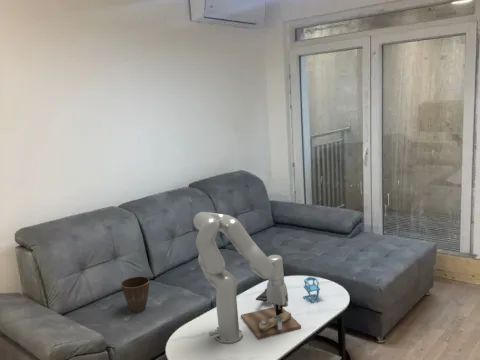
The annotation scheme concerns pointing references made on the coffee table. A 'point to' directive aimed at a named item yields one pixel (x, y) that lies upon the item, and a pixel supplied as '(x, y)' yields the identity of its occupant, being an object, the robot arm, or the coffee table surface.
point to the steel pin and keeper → (278, 322)
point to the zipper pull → (262, 296)
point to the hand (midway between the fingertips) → (279, 315)
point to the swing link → (272, 322)
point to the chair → (311, 289)
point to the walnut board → (266, 314)
